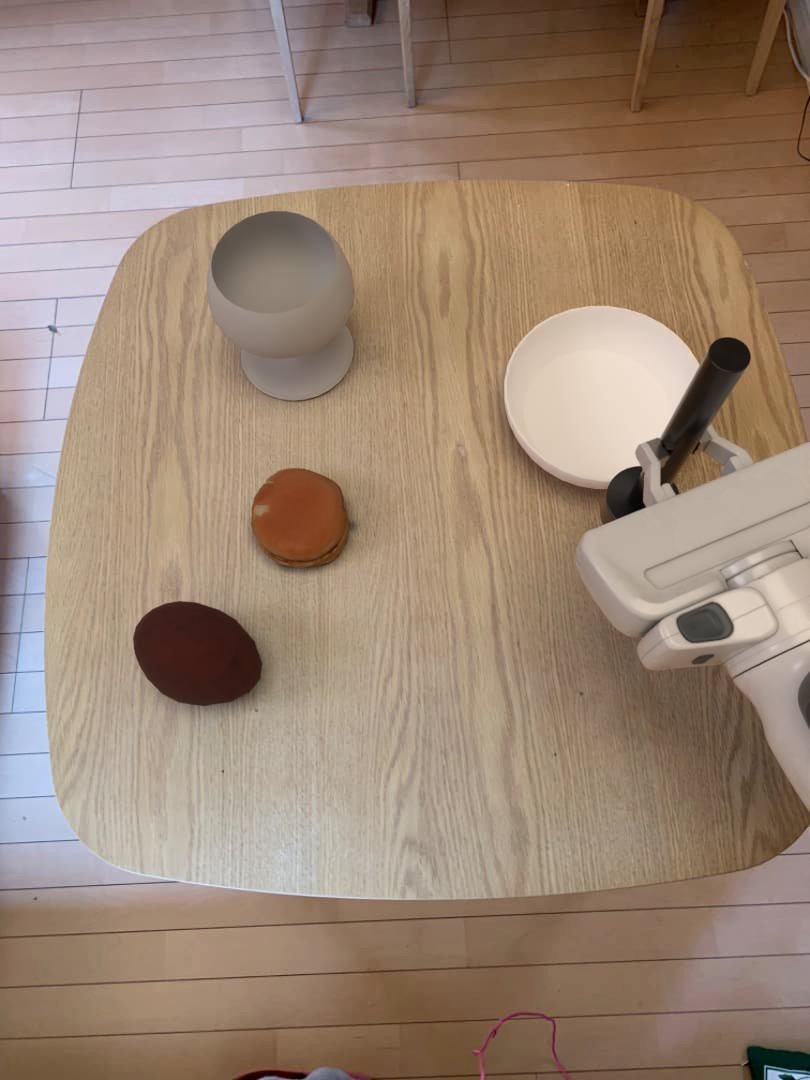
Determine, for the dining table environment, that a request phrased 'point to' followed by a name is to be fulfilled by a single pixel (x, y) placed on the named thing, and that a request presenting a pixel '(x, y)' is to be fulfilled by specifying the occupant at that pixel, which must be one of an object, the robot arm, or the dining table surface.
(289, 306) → the chalice
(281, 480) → the burger
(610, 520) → the rod on round base
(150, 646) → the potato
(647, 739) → the dining table surface
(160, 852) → the dining table surface
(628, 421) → the bowl
